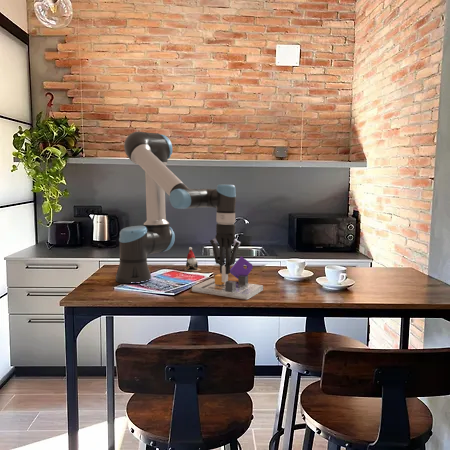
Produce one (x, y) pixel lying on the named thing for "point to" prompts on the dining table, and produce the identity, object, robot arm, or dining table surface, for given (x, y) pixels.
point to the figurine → (191, 261)
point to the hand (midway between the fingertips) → (224, 281)
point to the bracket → (241, 267)
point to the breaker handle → (219, 280)
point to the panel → (228, 294)
